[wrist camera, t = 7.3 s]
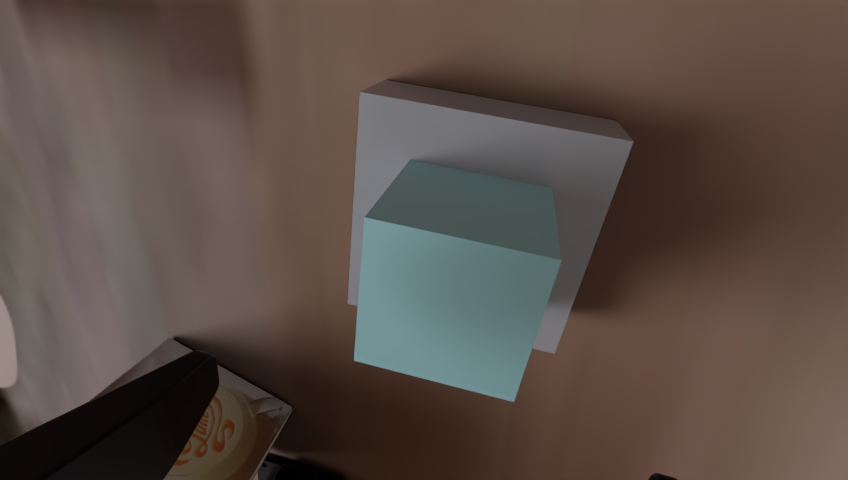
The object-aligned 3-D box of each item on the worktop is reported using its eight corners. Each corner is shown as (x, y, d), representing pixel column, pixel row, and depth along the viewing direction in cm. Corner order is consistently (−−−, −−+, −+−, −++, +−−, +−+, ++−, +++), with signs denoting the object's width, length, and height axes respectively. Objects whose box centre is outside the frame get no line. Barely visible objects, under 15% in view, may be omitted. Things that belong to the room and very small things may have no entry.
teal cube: (517, 304, 17) (513, 401, 13) (396, 276, 18) (353, 360, 14) (551, 187, 15) (561, 260, 11) (410, 159, 15) (364, 217, 11)
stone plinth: (551, 310, 21) (554, 354, 18) (369, 268, 22) (347, 303, 19) (616, 120, 16) (633, 141, 14) (385, 79, 17) (360, 91, 15)
